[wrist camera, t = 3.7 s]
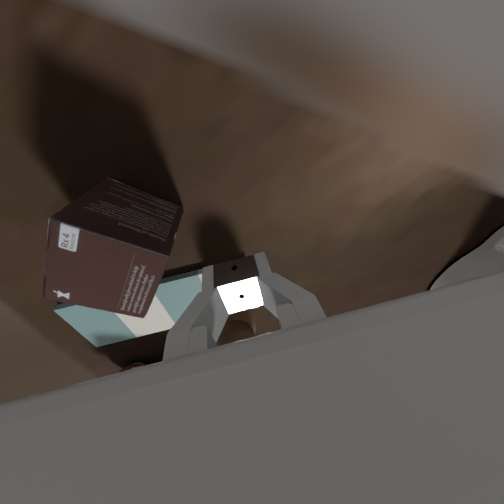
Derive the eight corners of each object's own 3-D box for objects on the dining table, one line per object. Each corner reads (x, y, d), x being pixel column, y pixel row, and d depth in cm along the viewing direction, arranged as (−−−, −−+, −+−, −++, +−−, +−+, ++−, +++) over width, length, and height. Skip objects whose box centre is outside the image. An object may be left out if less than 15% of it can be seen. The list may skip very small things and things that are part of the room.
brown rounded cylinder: (244, 274, 23) (255, 340, 17) (252, 299, 25) (264, 365, 19) (207, 284, 23) (205, 352, 17) (218, 308, 25) (219, 376, 19)
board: (245, 258, 23) (246, 262, 22) (257, 302, 27) (258, 307, 26) (58, 304, 23) (53, 310, 22) (99, 341, 27) (96, 347, 26)
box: (163, 259, 21) (144, 321, 15) (93, 237, 19) (39, 300, 13) (185, 206, 19) (172, 257, 13) (106, 173, 16) (45, 217, 10)
